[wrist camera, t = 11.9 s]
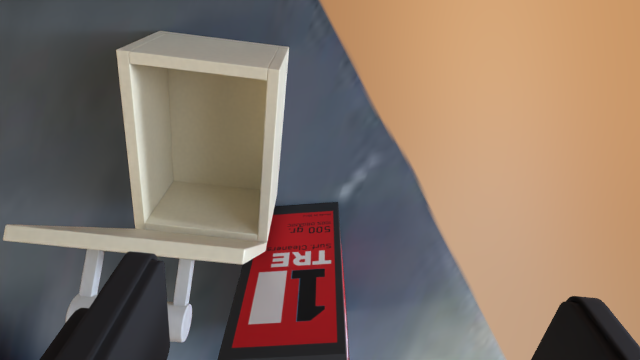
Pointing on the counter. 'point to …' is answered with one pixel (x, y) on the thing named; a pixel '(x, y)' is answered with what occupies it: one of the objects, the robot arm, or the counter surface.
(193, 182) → the cool box
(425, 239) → the counter surface
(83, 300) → the cool box door
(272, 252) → the cleaning product box
